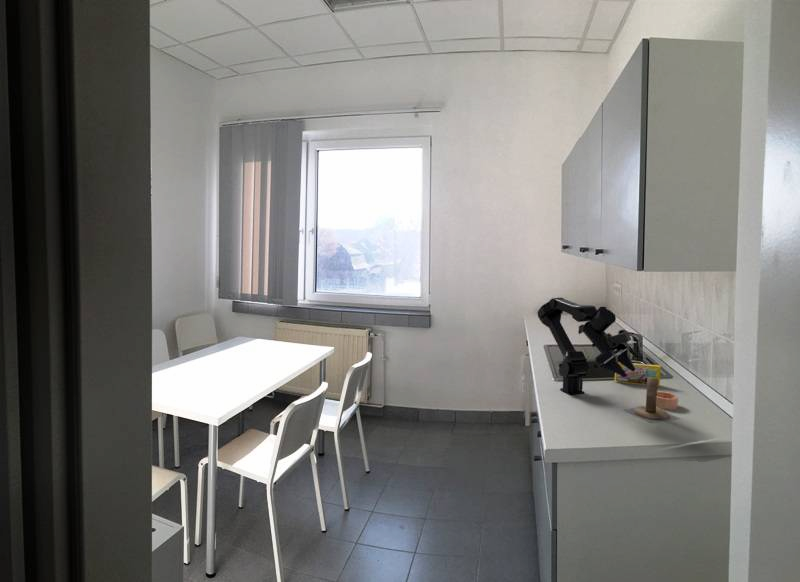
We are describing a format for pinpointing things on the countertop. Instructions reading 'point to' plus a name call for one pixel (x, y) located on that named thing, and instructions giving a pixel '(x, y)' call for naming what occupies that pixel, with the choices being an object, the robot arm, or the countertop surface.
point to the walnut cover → (651, 403)
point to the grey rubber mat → (670, 417)
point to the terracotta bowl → (666, 400)
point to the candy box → (639, 374)
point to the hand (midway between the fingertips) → (630, 373)
